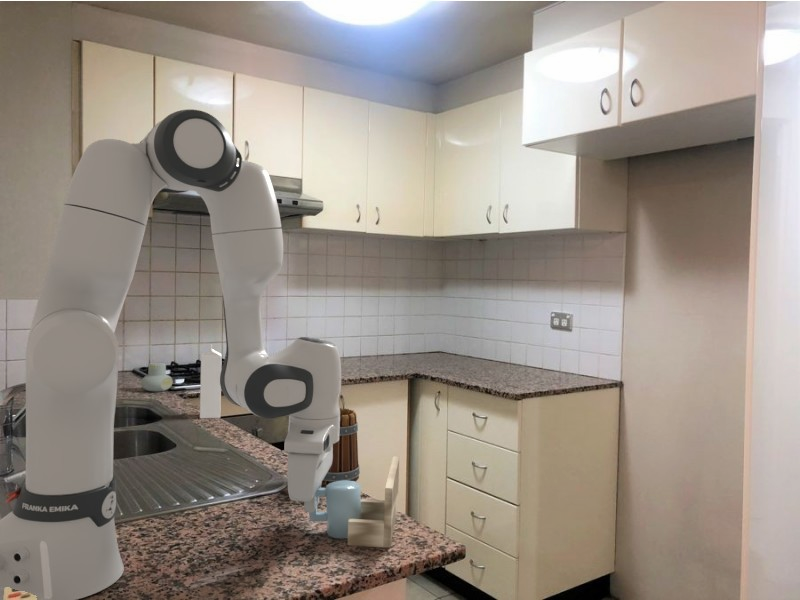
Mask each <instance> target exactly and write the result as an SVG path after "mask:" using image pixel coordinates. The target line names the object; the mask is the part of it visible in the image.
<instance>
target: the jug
mask: <svg viewBox="0 0 800 600" xmlns="http://www.w3.org/2000/svg"><path fill="white" fill-rule="evenodd" d="M361 496H362V495H361V483H360V482H357V481H356V482H355V481H349V480H343V481H336V482H332V483H329V484H328V485H327V486H325V487H321V488H318V489H317V491H316V494H315V500H316V509H315V511H314V512H312V513H311V512H308V513H309V514H308V515H309V518H308V519H309V522H326V530H327V531H326V533H327V535H328V537H331V538H334V539H348V521H349V519H361V499H362V498H361ZM317 497H319V498H325V503H326V504H325V506H326V511H318V505H317Z"/></svg>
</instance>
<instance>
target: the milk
mask: <svg viewBox="0 0 800 600" xmlns="http://www.w3.org/2000/svg"><path fill="white" fill-rule="evenodd" d="M222 358H223V357H222V353H221V352H219V351H217V350H215V349H213V344H211V348H210V349H208V350H206V351H204V352H202V353H201V355H200V386H199V387H200V393H199V394H200V395H199V397H200V398H199V399H200V400H199V402H200V403H199V419H220V418H221V406H222V405H221V404H222V403H221V401H222V399H221V398H222V389H221V386H220V374H221V370H222V366H223V362H222Z"/></svg>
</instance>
